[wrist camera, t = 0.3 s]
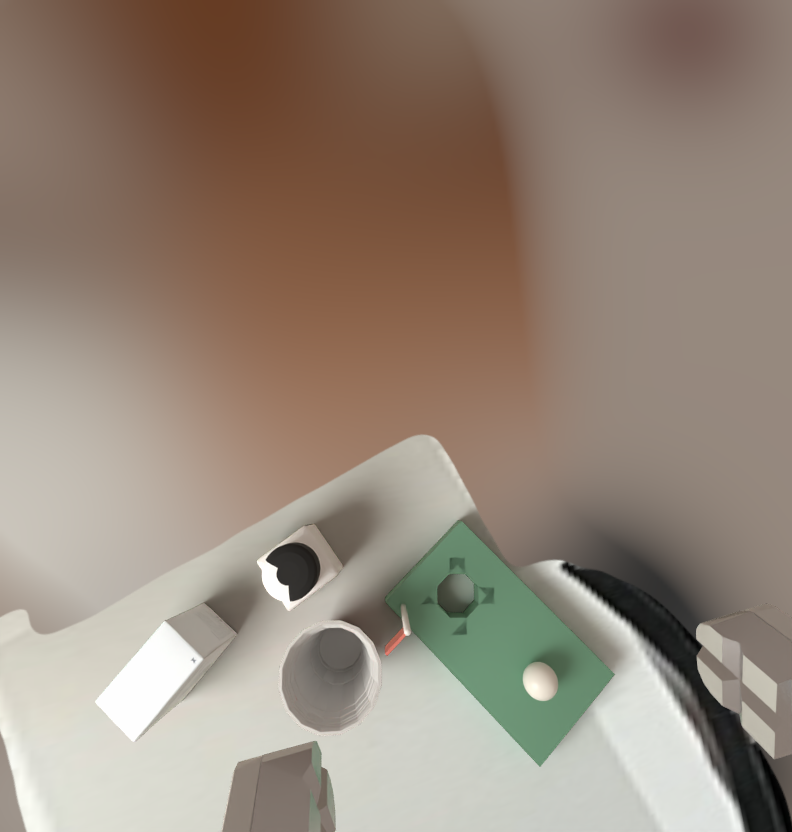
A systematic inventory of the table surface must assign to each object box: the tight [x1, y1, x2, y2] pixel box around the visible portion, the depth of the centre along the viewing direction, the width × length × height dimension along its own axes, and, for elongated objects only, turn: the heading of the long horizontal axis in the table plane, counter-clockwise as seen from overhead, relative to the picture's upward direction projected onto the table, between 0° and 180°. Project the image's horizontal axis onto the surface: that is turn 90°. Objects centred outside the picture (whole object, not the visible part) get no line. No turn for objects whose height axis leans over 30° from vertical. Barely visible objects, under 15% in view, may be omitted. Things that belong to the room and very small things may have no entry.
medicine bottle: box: [257, 524, 343, 611], centre depth 54 cm, size 7×7×12 cm
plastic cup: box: [278, 620, 382, 736], centre depth 52 cm, size 11×11×12 cm
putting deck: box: [385, 521, 615, 766], centre depth 51 cm, size 26×16×15 cm, turn 45°
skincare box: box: [95, 603, 237, 742], centre depth 53 cm, size 10×6×10 cm, turn 141°
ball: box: [523, 662, 558, 701], centre depth 53 cm, size 4×4×4 cm
